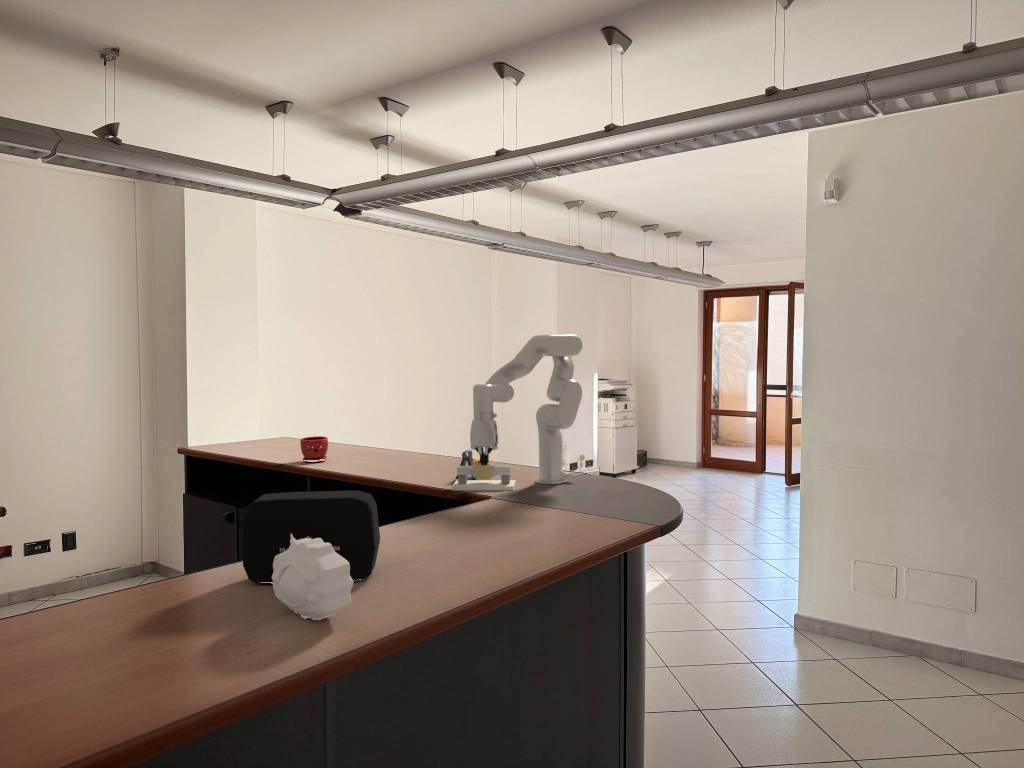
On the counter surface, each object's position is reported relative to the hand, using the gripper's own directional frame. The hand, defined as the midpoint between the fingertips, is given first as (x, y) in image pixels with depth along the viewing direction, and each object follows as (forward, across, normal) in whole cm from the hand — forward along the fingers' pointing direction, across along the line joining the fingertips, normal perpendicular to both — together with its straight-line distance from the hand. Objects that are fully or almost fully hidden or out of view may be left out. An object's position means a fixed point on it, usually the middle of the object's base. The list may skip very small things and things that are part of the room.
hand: (484, 464), depth 268 cm
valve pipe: (+7, +3, -9) cm, 11 cm away
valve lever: (0, +3, -4) cm, 5 cm away
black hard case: (+10, +4, +107) cm, 108 cm away
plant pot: (+10, +109, -51) cm, 121 cm away
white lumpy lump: (+10, -11, +130) cm, 131 cm away
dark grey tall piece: (+10, +16, -24) cm, 31 cm away
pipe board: (+10, +3, -9) cm, 14 cm away
